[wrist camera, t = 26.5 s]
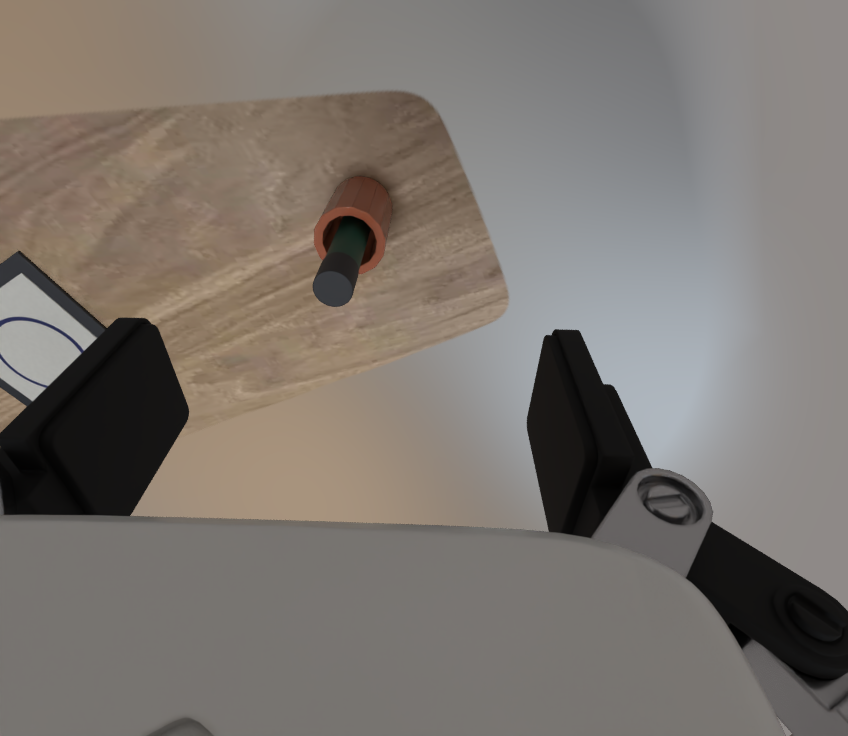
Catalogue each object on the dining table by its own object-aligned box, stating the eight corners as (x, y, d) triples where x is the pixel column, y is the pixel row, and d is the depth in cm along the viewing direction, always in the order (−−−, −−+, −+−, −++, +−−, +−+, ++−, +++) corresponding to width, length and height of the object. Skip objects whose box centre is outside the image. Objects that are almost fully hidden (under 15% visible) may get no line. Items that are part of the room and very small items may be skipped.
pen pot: (319, 195, 37) (298, 229, 32) (371, 163, 36) (359, 193, 30) (353, 246, 40) (340, 285, 34) (404, 219, 38) (398, 255, 32)
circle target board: (-83, 325, 45) (-87, 327, 45) (19, 250, 40) (15, 252, 40) (64, 430, 54) (62, 433, 53) (163, 379, 49) (161, 381, 48)
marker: (341, 205, 37) (304, 282, 27) (365, 190, 36) (337, 264, 26) (357, 230, 38) (328, 313, 28) (381, 216, 37) (360, 296, 27)
